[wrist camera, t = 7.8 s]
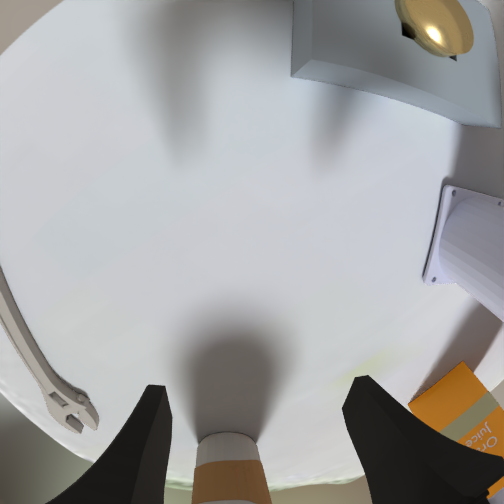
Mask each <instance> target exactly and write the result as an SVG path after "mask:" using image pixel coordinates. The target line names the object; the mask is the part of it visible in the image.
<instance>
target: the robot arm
mask: <svg viewBox="0 0 504 504" xmlns="http://www.w3.org/2000/svg"><path fill="white" fill-rule="evenodd" d="M452 191H453V194H452ZM432 278H433V279H432ZM423 282H424V283H425V284H426V285H438V284H452V283H456V284H457V285H459V286H460V287H461V288H462V289H464V290H465V291H466V292H468V293H469V294H470V295H471V296H473V297H474V298H475V299H476V300H478V301H479V302H480V303H481V304H482V305H484V306H485V307H486V308H487V309H488V310H490V311H491V312H492V313H493V314H494V315H496V316H497V317H498V318H499V319H500V320H501V321H503V322H504V200H503V199H500V198H497V197H493V196H490V195H486V194H482V193H479V192H475V191H471V190H467V189H463V188H459V187H455V186H451V185H446V186H444V188H443V192H442V198H441V204H440V210H439V215H438V220H437V225H436V230H435V234H434V239H433V243H432V247H431V251H430V255H429V259H428V263H427V266H426V270H425V273H424V277H423ZM342 411H343V415H344V419H345V423H346V427H347V430H348V433H349V435H350V438H351V440H352V443H353V445H354V447H355V450H356V452H357V455H358V457H359V459H360V462H361V464H362V467H363V469H364V472H365V475H366V478H367V482H368V486H369V490H370V494H371V498H372V503H373V504H504V487H503V488H502V489H501V490H499V491H498V492H497V493H495V494H494V495H493V496H492V497H490V498H489V499H487V496H488V495H489V494H490V493H489V491H488V489H489V488H490V487H491V486H492V485H494V484H495V483H496V482H497V481H499V480H500V479H501V478H502V477H503V476H504V459H503V457H502V456H498V455H493V454H489V453H485V452H481V451H478V450H475V449H472V448H470V447H467V446H465V445H462V444H460V443H458V442H456V441H454V440H452V439H450V438H448V437H446V436H444V435H442V434H441V433H439V432H438V431H436V430H434V429H433V428H431V427H430V426H428V425H427V424H425V423H424V422H422V421H421V420H420V419H418V418H417V417H416V416H414V415H413V414H412V413H411V412H409V411H408V410H407V409H406V408H405V407H403V406H402V405H401V404H400V403H399V402H398V401H396V400H395V399H394V398H393V397H392V396H391V395H390V394H389V393H387V392H386V391H385V390H384V389H383V388H382V387H381V386H380V385H379V384H378V383H376V382H375V381H374V380H373V379H372V378H371V377H370V376H369V375H366V376H360V377H355V379H354V381H353V384H352V386H351V388H350V391H349V393H348V395H347V398H346V400H345V402H344V405H343V407H342ZM171 439H172V413H171V409H170V405H169V401H168V396H167V392H166V387H165V386H161V385H148V386H147V387H146V389H145V391H144V393H143V394H142V396H141V398H140V400H139V402H138V403H137V405H136V407H135V409H134V410H133V412H132V414H131V415H130V417H129V418H128V420H127V421H126V423H125V424H124V426H123V427H122V429H121V430H120V432H119V433H118V435H117V436H116V437H115V439H114V440H113V441H112V443H111V444H110V445H109V447H108V448H107V449H106V450H105V452H104V453H103V454H102V455H101V456H100V458H99V459H98V460H97V461H96V462H95V463H94V464H93V465H92V466H91V467H90V468H89V469H88V470H87V471H86V472H85V473H84V474H83V475H82V476H81V477H80V478H79V479H78V480H77V481H76V482H75V483H73V484H72V485H71V486H70V487H68V488H67V489H66V490H65V491H63V492H62V493H61V494H60V495H58V496H57V497H55V498H54V499H52V500H51V501H49V502H47V503H46V504H164V487H165V480H166V473H167V466H168V459H169V453H170V446H171Z"/></svg>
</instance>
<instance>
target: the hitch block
mask: <svg viewBox="0 0 504 504" xmlns="http://www.w3.org/2000/svg"><path fill="white" fill-rule="evenodd" d="M458 2H459V3H460V4H461V6H462V7H463V9H464V10H465V12H466V14H467V15H468V18H469V20H470V22H471V25H472V29H473V34H474V43H473V46H472V48H471V50H470V51H469V52H467V53H465V54H459V55H455V56H450V57H438V56H435V55H433V54H431V53H429V52H427V51H426V50H424V49H423V48H422V47H420V46H419V45H418V44H417V43H416V42H415V41H414V40H412V39H410V38H407V37H405V36H402V29H401V22H400V20H399V17H398V15H397V12H396V9H395V0H294V10H293V39H292V62H291V77H294V78H301V79H308V80H314V81H320V82H325V83H331V84H336V85H340V86H345V87H350V88H354V89H358V90H362V91H366V92H370V93H374V94H378V95H381V96H385V97H388V98H392V99H395V100H398V101H402V102H405V103H408V104H411V105H414V106H417V107H420V108H422V109H425V110H428V111H431V112H433V113H436V114H439V115H441V116H444V117H446V118H449V119H451V120H453V121H456V122H458V123H460V124H463V125H469V126H481V127H491V128H500V129H501V121H502V110H501V85H500V72H499V63H498V55H497V48H496V42H495V36H494V31H493V26H492V21H491V17H490V13H489V9H487V8H486V7H485V6H483V5H482V4H481V3H480V2H478V1H477V0H458Z"/></svg>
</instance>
